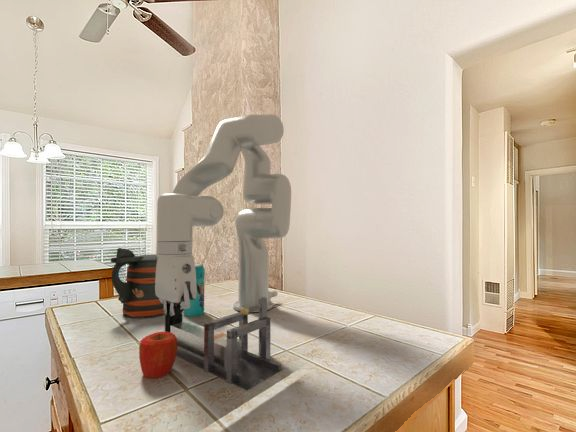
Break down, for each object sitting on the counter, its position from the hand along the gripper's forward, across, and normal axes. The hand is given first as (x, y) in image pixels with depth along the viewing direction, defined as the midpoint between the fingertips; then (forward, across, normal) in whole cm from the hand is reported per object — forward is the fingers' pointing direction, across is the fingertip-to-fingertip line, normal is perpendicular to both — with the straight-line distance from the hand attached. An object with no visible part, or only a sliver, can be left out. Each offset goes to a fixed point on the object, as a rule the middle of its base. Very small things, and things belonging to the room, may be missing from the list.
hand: (173, 331), depth 68 cm
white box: (+2, -11, 0) cm, 11 cm away
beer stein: (+3, +28, -7) cm, 29 cm away
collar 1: (+3, -18, 0) cm, 18 cm away
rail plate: (+3, -12, 0) cm, 12 cm away
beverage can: (+3, +13, -14) cm, 20 cm away
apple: (+3, -12, +10) cm, 15 cm away
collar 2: (+3, -24, 0) cm, 24 cm away
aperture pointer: (+3, -21, -5) cm, 21 cm away
